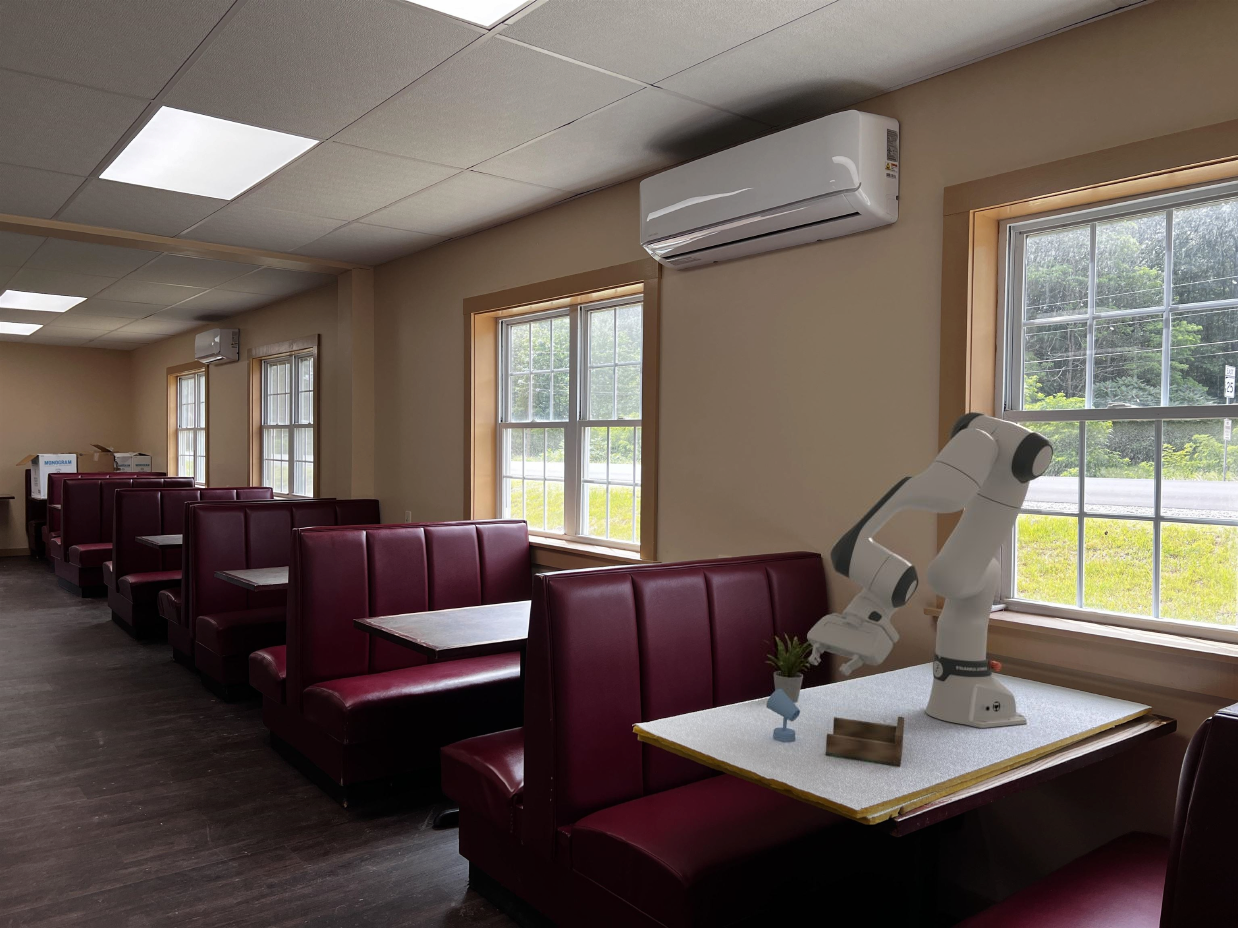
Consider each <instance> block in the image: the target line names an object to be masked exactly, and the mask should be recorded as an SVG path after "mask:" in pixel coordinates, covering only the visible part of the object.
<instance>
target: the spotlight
mask: <svg viewBox="0 0 1238 928" xmlns="http://www.w3.org/2000/svg"><path fill="white" fill-rule="evenodd" d="M765 706H766V709H769V710H770V711H772V712H774V713H776V714H777V715H779V716H781V717H783V718H782V727H776V728H773V734H772V738H773V739H774V740H775V741H778V742H782V743H794V742H795V741H796V734H797V733H796V731H795V730H794V729H792V728H790V727H789V728H788V727H787V726H788V721H790V722H794V721H795V720H797V718H799V717H800V713H801V710H800V709H799V707H798V706H797V705H796V704H795V703H793V702H792V701H791V699H790V698H789V697H788V696H787V695H786V693H785V692H784V691H783V690H782V689H777V690H776V691H775V690H774V691H773V693H771V695H770V696H769V698H768V699H767V701H766V705H765Z"/></svg>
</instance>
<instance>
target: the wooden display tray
mask: <svg viewBox="0 0 1238 928" xmlns="http://www.w3.org/2000/svg"><path fill="white" fill-rule="evenodd" d="M832 725H833V729H832V733H826V743H825V744H826V745H825V756H827V757H828V756H829V757H834V758H840V759H847V760H852V761H859V762H865V763H871V764H878V765H886V766H891V767H897V768H901V764H902V756H903V755H902V754H903V748H904V731H905V730H904V727H905V717H904V716H897V722H896V725H892V724H885V723H878V722H871V721H864V720H857V719H850V718H845V717H844V718H843V717H835V716H833V724H832Z"/></svg>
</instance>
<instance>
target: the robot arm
mask: <svg viewBox="0 0 1238 928" xmlns="http://www.w3.org/2000/svg"><path fill="white" fill-rule="evenodd" d="M949 436H950V437H949V441H948V443H946V445H945V446H944V447H943V448H942V450H941V451H940V452H939V453H938V455H937V456H936V457H935V459H934V460H933V461H932V462H931V464H930V465H929V467H928V468H927V469H925V470H924V471H923V472H921V473H919V474H917V475H915V476H905V477H904V478H902V479H900V480H899V481H898V482H897V483H896V484H894V485H893V486H892V487H891V488H890V489H889V490H888V491H887V492H886V493H885V494H884V495H883V496H882V497H881V498H880V499H879V500H878V501H877V502H876V503H875V504H874V505H873V506H872V507H871V508H870V509H869V511H867V512H866V513H865V514H864V516H863V517H861V519H860V520H858V521H857V522H856V523H855V525H854V526H852V527H851V528H850V529H849V530H848V531H847V532H845V534H843V535H842V536H841V537H840V538H839V539H837V541H836V542H835V543H834V545H833V547H832V549H831V551H830V553H829V555H830V561H831V564H832V567H833V570H834V571H835V572H836V573H838V574H840V575H842V576H843V577H846V578H847V579H850V580H852V581H853V582H855V583H857V584H858V585H860V586H862V587H863V588H862V590H861V592H859V593H858V594H856V595H855V596H854V597H853V599H852V600H851V602H850V603H849V604H848V605H847V606H846V607H845V609H844V610H843V611H842V613H841V614H840V613H837V612H833V613H830V614H826V615H825V616H823V617H822V618H820V619H819V620H818V621H817V622H816V623H815V624H814V625H813V627H811V629H810V630H809V631H808V633H807V635H806V636H807V637H806V638H807V640H808V641H809V642H810V643H809V644H811V645H812V646H811V647H813V648H812V653H811V655H810V656H809V657H808V658H809V660H808V662H809V664H810V665H814V666H818V665H819V663H820V662H821V661H822V660H821V658H820V655H821V654H823V653H824V652H828V653H831V654H835V655H838V656H842V657H845V658H847V659H850V661H848V662H846V663H842V664H841V666H840V667H839V670H838V671H839V673H841V675H844V676H846V677H848V676H850V674H851V673H852V672H853V671H854V670H856V669H858V668H860V667H862V665H863V664H866V665H870V666H873V667H877V666H878V665H881V664H883V662H884V660H885V659H886V658H887V657H888V655H889V654H890V653H891V650H892V649H893V647H894V644H895V643H897V641H899V639H900V635H899V633H898V632H897V630H896V629H895V627H894V625H893V624H892V622H891V621H890V620H891V618H892V615H893V614H894V613H895V612H897V611H898V610H899V609H900V608H902V607H903V606H906V604H907V603H908V602H909V600H910V599H911V597H912V596H913V594H915V592H916V591H917V588H918V586H919V577H918V572H917V570H916V567H915V565H913V564H912V563H911V562H909V561H908V560H907V559H905V558H903V557H901V556H900V555H898V554H897V553H895V552H892V551H891V550H890V549H888V548H887V547H885V546H883V545H881V544H880V543H879V542H876V541H875V540H874V539H873V538H874V536H875V535H876V534H877V533H878V531H880V530H881V529H882V527H884V526H885V524H886V523H888V522H889V521H890V520H891V518H892V517H893V516H894V515H896V514H897V513H899V512H901V511H904V510H918V511H924V512H930V513H936V514H951V513H956V512H960V511H962V510H963V509H964V510H963V511H962V514H961V517H960V519H959V521H958V523H957V524H956V526H955V527H954V529H953V530H952V532H951V533H950V535H949V537H948V538H947V540H946V541H945V543H944V545H943V546H942V547H941V549H940V551H939V552H938V554H937V555H936V556H935V557H934V558H933V559H932V560H931V561H930V563H929V564H928V565H927V568H926V572H925V576H926V577H925V578H926V582H927V585H928V586H929V589H931V591H932V592H933V593H934V594H936V595H937V596H939V597H942V598H944V599H945V600H944V604H943V606H942V607H943V608H942V610H941V612H940V615H938V616H939V617H938V619H937V621H936V640H935V651H934V653H933V659H932V675H933V676H932V677H933V678H932V685H931V690H930V695H929V699H928V702H927V705H926V707H925V710H924V712H925V713H926V714H927V715H929V716H930V717H933V718H935V719H939V720H940V721H941V720H942V721H945V722H950V723H953V724H954V723H955V724H960V725H967V726H971V727H974V728H979V729H980V728H981V729H986V728H993V727H994V728H995V727H1003V726H1012V725H1013V726H1014V725H1024V724H1027V723H1028V722H1027V718H1026V717H1025V716H1024V715H1023V714H1021V713H1019V712H1017V703H1016V699H1015V696H1014V694H1013V692H1011V690H1009V688H1008V687H1006V686H1005V685H1004V684H1002V683H1001V681H999V679H997V678H996V677H995V676H994V675H993V672H992V670H993V671H996V672H1000V671H1001V669H1002V667H1003V666H1002V664H1001V663H1000V662H999V661H995V660H992V661H991V660H989V659H988V658H986V657H987V646H988V645H987V643H988V642H987V641H988V627H989V622H990V617H991V612H992V608H993V604H994V601H995V600H994V599H995V596H996V591H997V588H998V586H999V584H1000V581H1001V580H1002V568H1001V564H1000V563H999V561H998V560H997V559H996V558H995V556H996V554H997V553H998V551H999V550H1000V549H1001V547H1002V546H1003V544H1005V543H1006V541H1007V540H1008V539H1009V537H1010V535H1011V532H1012V530H1013V528H1014V525H1015V523H1016V521H1017V519H1018V516H1019V514H1020V511H1021V509H1022V506H1023V504H1024V502H1025V500H1026V497H1027V494H1028V491H1029V486H1030V483H1031V481H1035V480H1036V479H1038V478H1039V477H1041V476H1042V475H1044V473H1045V472H1046V471H1047V470H1048V469H1049V466H1050V465H1051V463H1052V459H1053V456H1054V448H1053V445H1052V442H1051V440H1050V439H1049V438H1047V437H1046V436H1045V435H1043V434H1041V433H1039V432H1038V431H1032V430H1031V429H1029V428H1026V427H1024V426H1022V425H1021V424H1018V423H1015V422H1013V421H1009V420H1008V421H1007V420H1004V419H1001V418H998V417H993V416H989V415H987V414H985V413H980V412H973V411H972V412H970V411H969V412H967V413H965V414H964V415H961V416H960V417H959V418H958V419H957V420H956V421H955V422H954V424H953V426H952V428H951V431H950V435H949Z"/></svg>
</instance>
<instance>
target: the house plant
mask: <svg viewBox="0 0 1238 928" xmlns="http://www.w3.org/2000/svg"><path fill="white" fill-rule="evenodd" d="M783 634H784V637H785V638H786V640H787V646H788V651H787V652H786V648H785V645H784V644H783V642H782V641H781V640H780V639H779V637H777V636H776V635H774V637H775V640H776V642H777V645H778V646H777V648H778V652H777V649H774V650H775V652H776V654H777V658H776V657H774V656H772V655H771V654H766V656H767V657H769V658H770V659H771V660H772V661H774V662H775V663H774V662H772V661H769V660H767V661H765V663H768V664H771V665H772V666H775V668H776V669H777V670H778V671H774V672H773V682H774V692H775V691H776V690H777V689H782V690H783V691H784V692H785V693H786V695H787V696H788V697H789V698H790V699H791V701H792V702H793V703H794V704H795V703H798V701H799V697H800V692H801V687H802V685H803V683H802V682H803V680H804V679H803V678H804V675H803V674H802V673H801V672H799V670H800V669H802V670H805V671H806V672H807V671H808V670H807V668H806V667H804V665H805V666H807V667H810V666H811V663H810V662H809V657H807V658H806V659H804V657H805V655H806V654H807V653H808V652H809V651H810V650H811V649H812V650H813V646H812V644H811V643H810V642H809V640H808V641H806V642H804V644H800V645H799V643H800V641H798V636H795V637H794V638H793V643H792V645H791V641H790V639H789V637H788V635H787V634H786V633H785V632H783ZM763 641H765V642H767V643H768V644H769V642H768V641H766V640H765V639H764V640H763ZM810 644H811V645H810ZM808 645H809V646H808ZM801 655H802V656H801ZM802 661H803V662H802ZM807 662H808V663H807ZM779 668H780V670H779Z"/></svg>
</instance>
